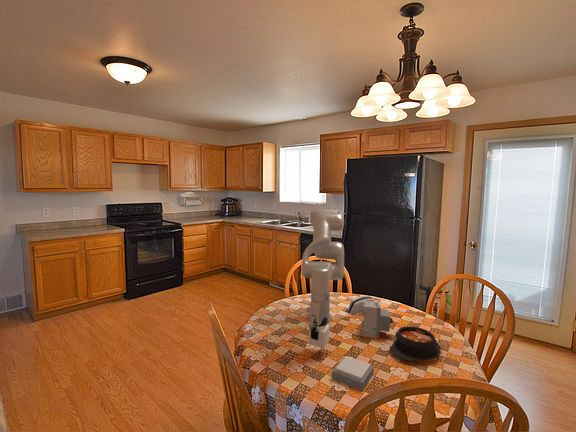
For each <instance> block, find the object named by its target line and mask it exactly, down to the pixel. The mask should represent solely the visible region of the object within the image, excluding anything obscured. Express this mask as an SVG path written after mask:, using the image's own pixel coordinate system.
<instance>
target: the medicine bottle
mask: <svg viewBox="0 0 576 432" xmlns="http://www.w3.org/2000/svg"><path fill="white" fill-rule="evenodd" d="M314 323H316V321H315V322H314ZM314 327H315V328H316V325H315V324H314ZM330 328H331V327H330V325H329V324H328V322H327V317H325V318H324V319H323V320H322V322H321V324H320V325H319V326H318V330H317V331H318V340H314V339H311V330H310V327H309V328H308V345H311V346H314V347H318V348H323V349H325V348H326V347H327V344H328V343H329V342H330Z"/></svg>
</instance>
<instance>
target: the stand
mask: <svg viewBox="0 0 576 432" xmlns="http://www.w3.org/2000/svg"><path fill="white" fill-rule="evenodd" d="M374 371H375V366H374V365H371V363H368V362H365V361H362V360H360V359H356V358H354V357H351V356H349V355H348V356H347V355H345V356H343V358H342V359H341V360H340V361H339V362H338V363H337V364H336V366H335V367H334V368H333V369H332V370H331V379H332V380H334V381H337V382H340V383H342V384H344V385H347V386H349V387H352V388H355V389H357V390H359V391H364V390H365V388H366V387H367V385H368V383H369V381H370V380H371V378H372V377H373V375H374V374H375V373H374Z"/></svg>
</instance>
